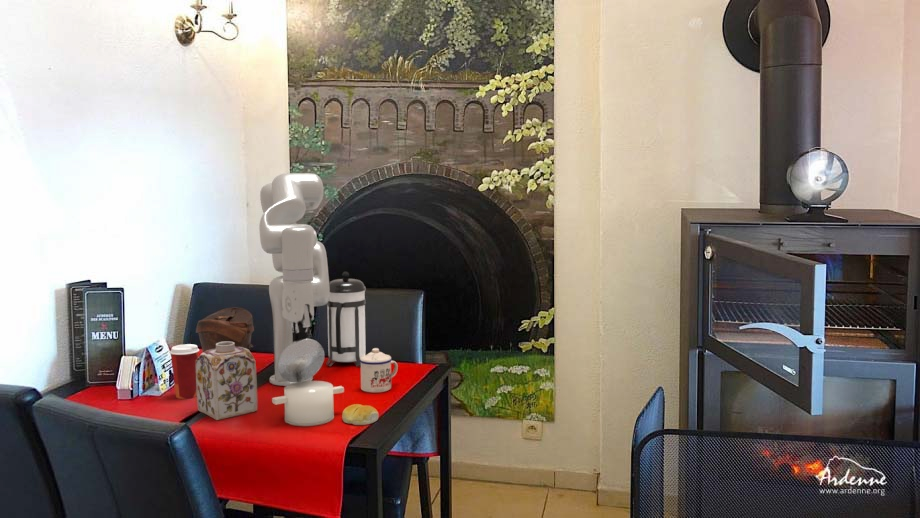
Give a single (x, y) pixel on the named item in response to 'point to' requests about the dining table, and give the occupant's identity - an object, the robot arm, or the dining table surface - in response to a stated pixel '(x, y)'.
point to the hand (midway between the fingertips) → (300, 347)
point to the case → (226, 328)
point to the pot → (308, 402)
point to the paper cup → (184, 370)
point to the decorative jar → (226, 381)
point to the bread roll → (360, 414)
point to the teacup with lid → (376, 371)
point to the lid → (300, 360)
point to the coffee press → (346, 320)
